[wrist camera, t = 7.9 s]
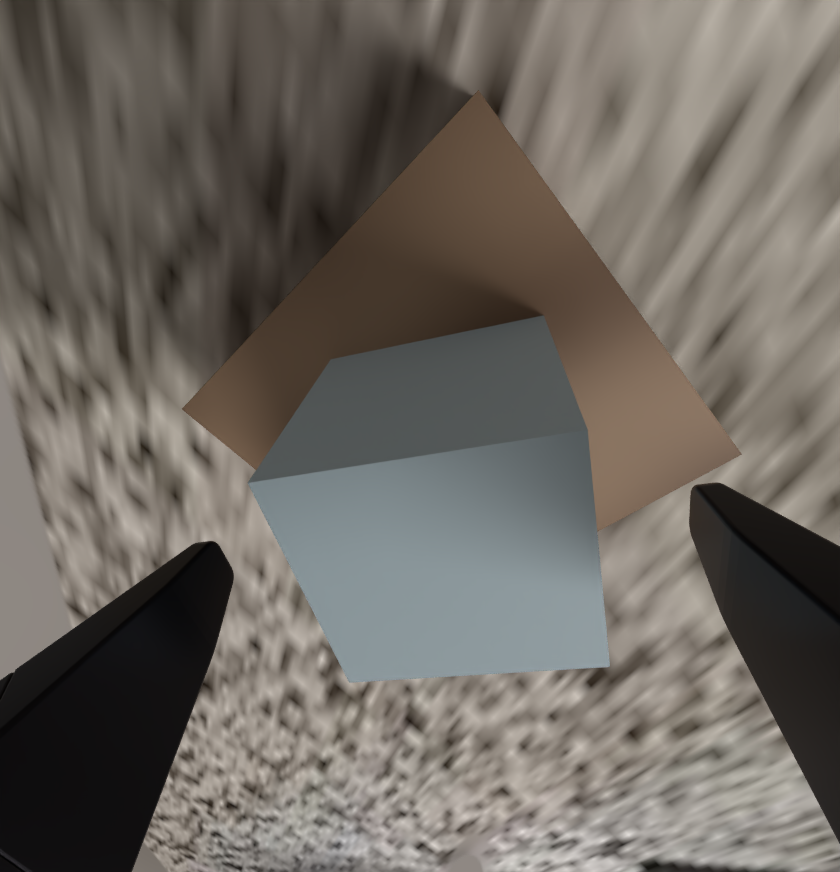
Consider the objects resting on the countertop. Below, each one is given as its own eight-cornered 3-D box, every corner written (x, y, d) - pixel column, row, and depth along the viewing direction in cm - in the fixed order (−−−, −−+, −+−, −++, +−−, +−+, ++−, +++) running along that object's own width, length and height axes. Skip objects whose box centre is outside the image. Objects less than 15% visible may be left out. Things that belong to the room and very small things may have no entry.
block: (543, 315, 11) (587, 429, 6) (566, 496, 13) (610, 667, 9) (330, 359, 12) (247, 483, 8) (387, 519, 14) (349, 682, 10)
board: (701, 407, 14) (741, 454, 12) (441, 562, 18) (436, 617, 16) (478, 100, 11) (478, 89, 9) (223, 371, 15) (181, 409, 13)
